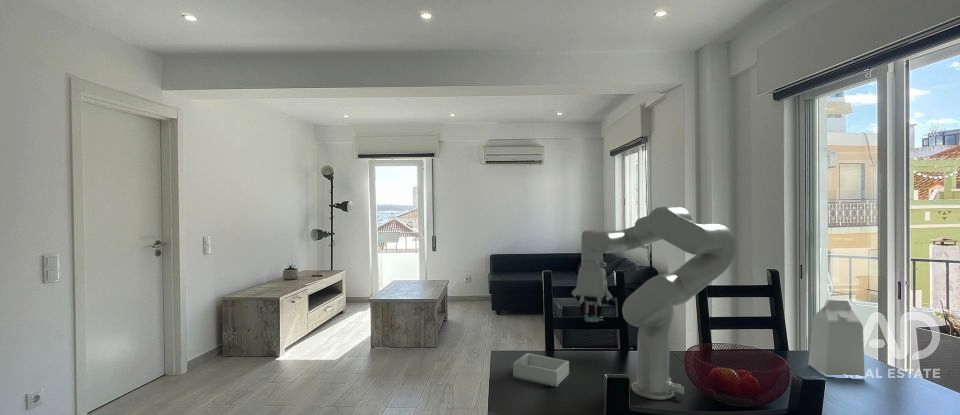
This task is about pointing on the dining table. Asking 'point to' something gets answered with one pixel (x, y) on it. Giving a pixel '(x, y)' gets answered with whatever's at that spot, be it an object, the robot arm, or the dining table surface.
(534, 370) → the bin
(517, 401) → the dining table surface
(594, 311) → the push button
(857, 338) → the milk
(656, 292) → the robot arm
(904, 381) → the dining table surface
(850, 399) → the dining table surface
